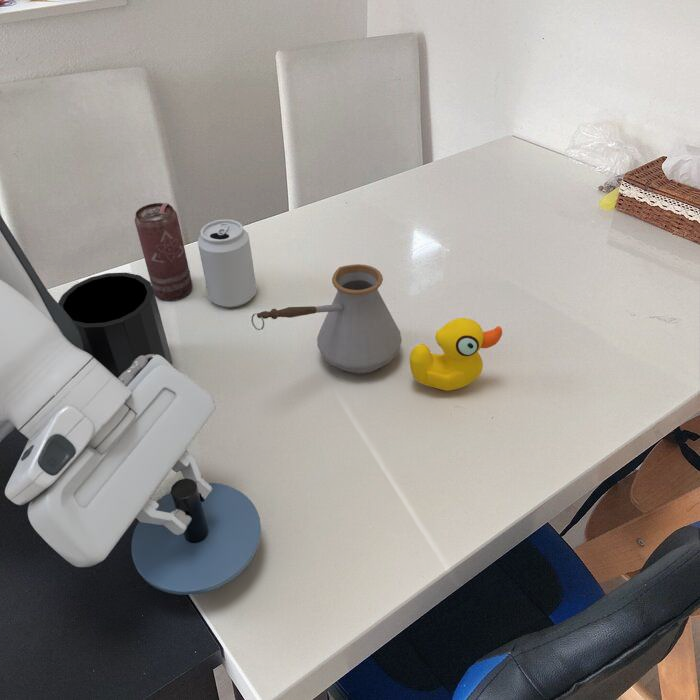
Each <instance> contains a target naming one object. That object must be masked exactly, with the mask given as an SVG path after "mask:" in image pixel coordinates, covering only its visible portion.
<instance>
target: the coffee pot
mask: <svg viewBox="0 0 700 700" xmlns="http://www.w3.org/2000/svg"><path fill="white" fill-rule="evenodd" d="M383 281H384V278H383V274H382V273H381V271H380V270H379V269H377V268H376V267H373V266H371V265H367V264H362V263H361V264H360V263H359V264H358V263H357V264H348V265H342V266H339V267H338V268H337V269H336V270H335V271H334V273H333V275H332V278H331V283H332V285H333V287H334V288H335V289H336V290H337V292H336V294H335V296H334V299H333V301H332V303H331V304H326V305H319V306H318V305H317V306H313V305H312V306H310V305H309V306H287V307H285V308H281V309H276V308H272V309H270V311H267V310H264V311H260V312H258V313H253V314H252V315H251V325H252V326H253V328H254V329H255V330H257V331H261V330H263V329H264V328H265V319H269V318H271V319H272V320H277V319H278V318H288V319H291V318H296V317H303V316H307V315H313V314H317V313H327V314H326V316H325V318H324V320H323V323H322V325H321V327H320V329H319V330H318V331H319V332H318V334H317V338H316V343H317V344H316V347H317V348H318V350H319V352H320V354H321V356H322V357H323V359H325V361H327V362H328V364H330V365H332V366H333V367H335V368H336V369H339V370H342V371H344V372H347V373H351V374H357V375H358V374H367V373H373V372H374V371H376V370H379V369H380V368H382V367H384V366H386V365H387V364H389V363H390V362H391V361H392V360H393V359H394V358H395V357H396V355H397V354H398V352H399V351H400V349H401V346H402V341H403V340H402V339H403V338H402V334H401V331H400V329H399V327H398V325H397V324H396V323H397V322H396V321H395V319H394V318H393V315H392V314H391V311H390V310H389V308H388V307H387V305H386V302H385V300H384V299H383V297H382V295H381V293H380V291H379V288H380V287H381V286H382V283H383ZM255 316H257V319H260V320H261V322H262V325H261V328H258V327H257V326H256V325H255V322H254V317H255Z"/></svg>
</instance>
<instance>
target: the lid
mask: <svg viewBox="0 0 700 700" xmlns="http://www.w3.org/2000/svg"><path fill="white" fill-rule="evenodd" d="M207 483H208V484H209V485H210V486H211V487H212V491H211V493H210V494H209V496H208V497H207V499H206V500H205V501H204V502H201V499H200V495H199V491H198V487H197V484H196V482H195V481H193V480H191V479H184V478H181V479H179V480H176V481H175V482H174V483H173V484H172V486H171V489H170V492H168V493H166V494H165V495H162V496H161V497H160V498H159V499H157V500H155V501H156V502H157V503H158V504H159V506H158V508H157V509H156V510H157V511H162V512H167V513H171V512H172V511H175V510H176V509H178V508H180V509H182V510H183V511H184V512H185V514H186V515H189V516H190V517H191V518H192V521H191V522H190V524H189V525H188V527H187V529H186V530H185V532H184V533H182V534H180V535H176V534H174V533H172V532H171V531H170V530H169V529H168V528H166V527H165V526H164V525H157V524H150V523H143V522H140V521H139V520H138V522H137V524H136V526H135V527H134V531H133V534H132V539H131V545H130V546H131V547H130V548H131V556H132V560H133V564H134V566H135V568H136V570H137V572H138V575H140V576H141V577H142V579H143V580H144V581H145V582H146V583H147V584H149V585H150V586H151V587H153V588H155V589H157V590H159V591H162V592H165V593H168V594H173V595H178V596H179V595H181V596H182V595H184V596H189V595H199V594H202V593H207V592H211V591H213V590H216V589H218V588H221V587H222V586H224V585H226V584H227V583H229V582H231V581H232V580H234V579H235V578H236V577H238V576H239V575H240V574H241V573H242V572H243V571H244V570H245V569H246V567H247V566H248V565H249V564H250V563H251V561H253V559H254V556H255V554H256V552H257V550H258V548H259V545H260V541H261V535H262V525H261V519H260V518H261V517H260V515H259V512H258V510H257V508H256V506H255V504H254V503H253V502H252V500H251V499H250V498H249V497H248V496H247V495H246V494H244V493H243V492H242V491H240V490H238V489H237V488H234V487H232V486H229V485H226V484H222V483H217V482H207Z"/></svg>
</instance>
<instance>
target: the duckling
mask: <svg viewBox="0 0 700 700" xmlns="http://www.w3.org/2000/svg"><path fill="white" fill-rule="evenodd" d="M502 336H503V328H502V326H500V325H497V326H496V327H495V328H493V329H491V330H487V331H483V329H482V327H481V325H480V323H479V322H477V321H475V320H473V319H471V318H467V317H458V318H454V319H452V320H450V321H448V322H447V323H445V325H443V326H442V327H441V328H439V329H438V330H437V331H436V332H435V336H434V337H435V341H436V344H437V345H438V346H439V348H440V349H441V350H442V351H443V353H432V352H431V349H430V348H429V346H428V345H427V344H425V343H419V344H417V345H415V346H414V347H413V348H412V349H411V351H410V354H409V368H410V372H411V375H412V377H413V378H414V379H415V380H416V381H417V383H419V384H421V385H424V386H427V387H431V388H435V389H439V390H442V391H455V390H458V389H461V388H464V387H466V386H468V385H470V384H471V383H473V382H474V381H475V380H477V379H478V378H479V377H480V375H481V373H482V371H483V369H484V368H483V367H484V362H483V359H482V357H481V355H480V353H479V351H480V350H481V349H489V348H491V347H493V346H495V345H497V344H498V342H500V339H501V338H502Z"/></svg>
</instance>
